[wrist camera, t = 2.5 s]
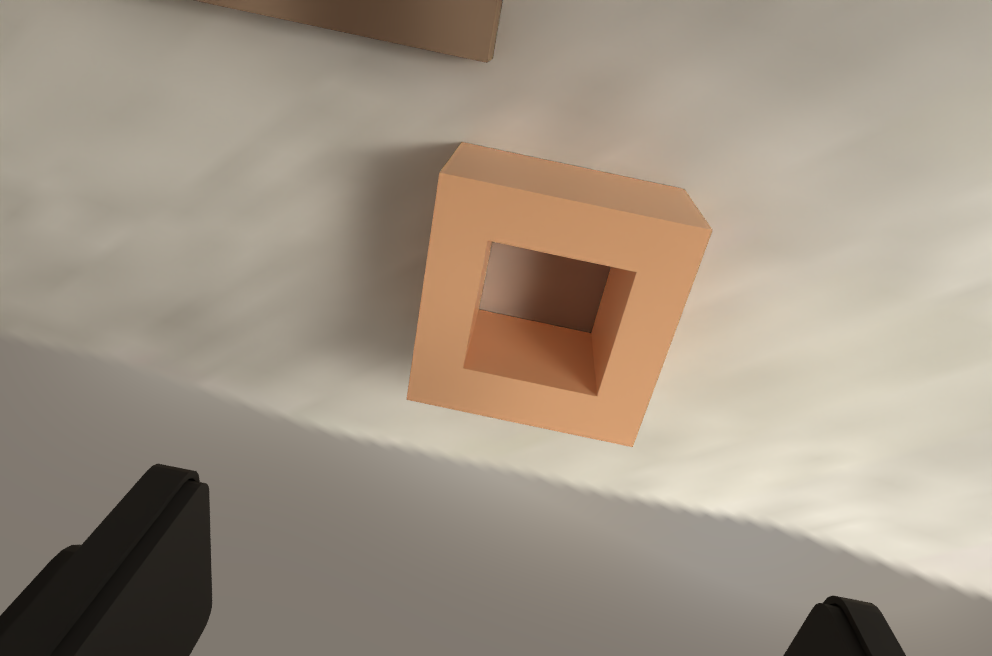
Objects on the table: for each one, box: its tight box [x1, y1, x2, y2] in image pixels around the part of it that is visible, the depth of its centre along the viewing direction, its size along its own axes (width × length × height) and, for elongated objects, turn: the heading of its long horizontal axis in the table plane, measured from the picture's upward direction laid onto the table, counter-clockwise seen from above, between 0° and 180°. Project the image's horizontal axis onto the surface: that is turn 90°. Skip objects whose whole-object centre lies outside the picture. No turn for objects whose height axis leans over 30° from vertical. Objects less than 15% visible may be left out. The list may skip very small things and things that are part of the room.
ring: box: [407, 142, 712, 447], centre depth 19 cm, size 7×7×4 cm
